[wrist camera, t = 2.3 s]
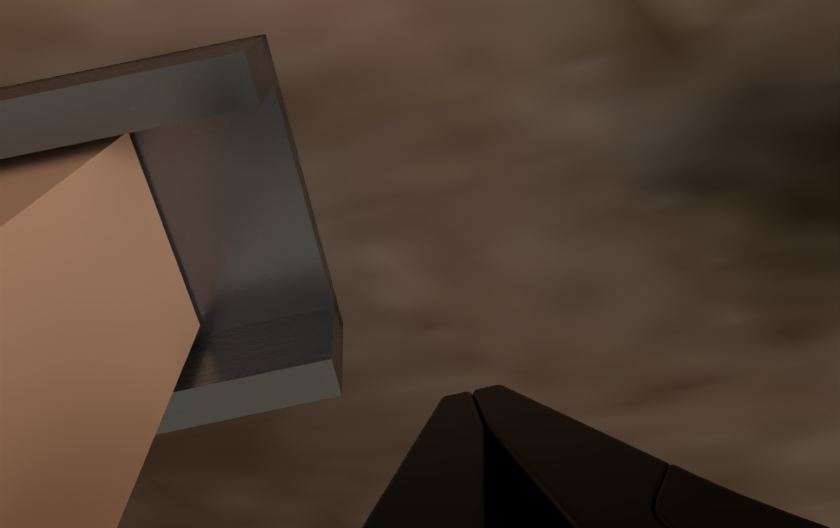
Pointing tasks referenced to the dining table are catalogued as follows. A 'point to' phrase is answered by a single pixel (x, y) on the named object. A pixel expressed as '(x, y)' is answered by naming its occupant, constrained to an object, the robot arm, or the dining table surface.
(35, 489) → the terracotta block
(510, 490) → the robot arm
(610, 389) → the dining table surface
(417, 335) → the dining table surface
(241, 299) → the chute
